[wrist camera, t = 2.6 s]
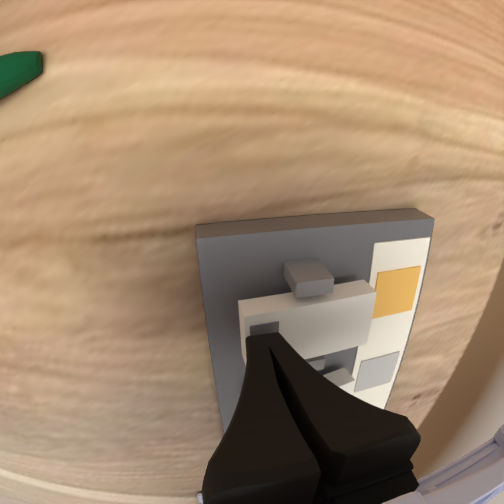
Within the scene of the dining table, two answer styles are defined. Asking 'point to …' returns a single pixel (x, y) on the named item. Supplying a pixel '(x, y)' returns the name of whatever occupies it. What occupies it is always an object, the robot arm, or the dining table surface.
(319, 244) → the switch unit
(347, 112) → the dining table surface
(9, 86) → the gaming controller
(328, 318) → the block
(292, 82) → the dining table surface
